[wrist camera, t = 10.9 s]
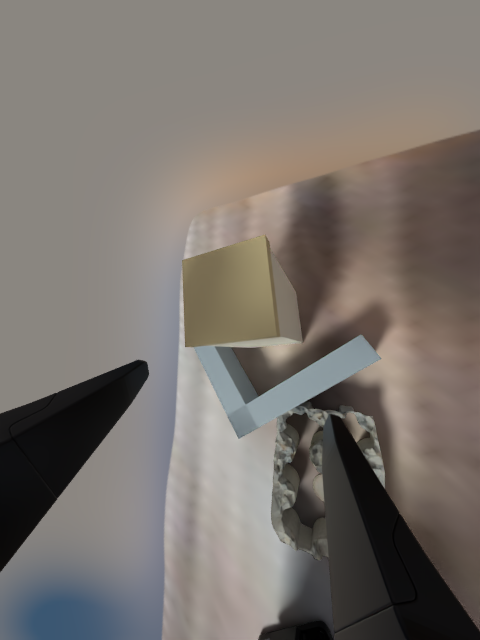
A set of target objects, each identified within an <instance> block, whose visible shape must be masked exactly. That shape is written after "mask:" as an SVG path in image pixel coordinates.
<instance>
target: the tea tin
mask: <svg viewBox="0 0 480 640" xmlns="http://www.w3.org/2000/svg"><path fill="white" fill-rule="evenodd" d="M182 268H183V297H184V326H185V347H200V346H221V347H244V348H257V347H267V346H277V345H286V344H296V343H303V339H302V332H301V324H300V317H299V310H298V302H297V295H296V291H295V289H294V288H293V286H292V284H291V283H290V281H289V279H288V278H287V276H286V274H285V273H284V271H283V269H282V267H281V266H280V264H279V262H278V261H277V259H276V257H275V256H274V254H273V252H272V251H271V249H270V244H269V241H268V239H267V237H266V235H262V236H259V237H256V238H253V239H249V240H246V241H243V242H240V243H236V244H233V245H230V246H227V247H224V248H220V249H217V250H214V251H211V252H208V253H204V254H201V255H198V256H195V257H192V258H188V259H185V260H182Z"/></svg>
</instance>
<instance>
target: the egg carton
mask: <svg viewBox="0 0 480 640" xmlns="http://www.w3.org/2000/svg"><path fill="white" fill-rule="evenodd" d="M305 412H307V415H308V417H309V419H311V420H314V421H316V422H317V423H318V424H319V425H320V426H321V427H324V424H325V422H326V419H327V417H328V415H329V414H335V415H338V416H340V417H341V418H346V414H347V413H348V412H350V413H354V414H355V416H356V418H357V421H358V423H359V424H360V426H361V427H362V428H363V429H365V430H366V431H368V432H370V438H364V439H362V440H360V441H359V442H358V443H357V445H358V446H359V448H360V449H361V451H362V453H363V454H364V456H365V458H366V459H367V461H368V462H369V464H370V466H371V467H372V469H373V470H374V472H375V474H376V475H377V477H378V479H379V480H380V482H381V483H382V485H383V487H384V488H385V471H384V466H383V460H382V455H381V450H380V446H379V442H378V437H377V432H376V427H375V423H374V419H373V416H365V415H363V414H362V413H360V412H354V410H353V408H352V407H350V406H342V405H341V406H339V410H338V412H337V411H334V410H325V411H323V410H320V409H313V407H312V404H311V402H309V401H305V402H303V403H302V404H300V405H298V406H296V407H295V408H293V409H291V410H289V411H287V412H286V413H284V414H282V415H280V416H278V417H277V436H276V448H275V455H274V475H273V492H272V507H271V520H272V525H273V528H274V530H275V532H276V534H277V535H278V537H279V539H280V540H281V542H283V543H286V544H288V545H289V546H291V547H292V548H293V549H294V550H295V551H297V550H298V549H299V550H303V551H305V552H308V553H310V554H311V555H312V556H313V557H314V559H316V560H319V561H320V560H322V557H323V556H326V557H328V543H327V530H326V518H319V519H317V520H316V521H315V523H314V526H313V528H309V527H307V526H305V525H303V524H301V522H300V519H299V516H298V515H297V513H296V511H295V510H294V509H293V508H291V507H293V505H294V503H295V501H296V497H297V493H298V487H299V483H300V480H299V476H298V473H297V472H296V470H295V469H294V468H293V467H292V466H290V465H289V464H287V463H288V462H289V463H291V462H292V461H293V459H294V456H295V453H296V450H297V447H298V444H299V435H298V432H297V431H296V430H295V428H293V427H292V426H291V425H289V424H287V423H286V419H287V418H288V417H290V416H291V415H292V414H293V413H296V414H299V415H302V414H304V413H305ZM322 448H323V430H322V431H319V432H317V433H316V434H314V436H313V438H312V441H311V446H310V448H309V454H310V461H311V462H312V464H313V465H314V467H315V468H316V470H317V471H318V472H320V473H322ZM313 489H314V492H315V494H316V495H317V497H318V498H319V499H320V500H321V501H323V502H324V491H323V477H322V474H318V475H317V476H316V477H315V479H314V481H313ZM328 558H329V557H328Z"/></svg>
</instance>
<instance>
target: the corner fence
mask: <svg viewBox="0 0 480 640" xmlns="http://www.w3.org/2000/svg"><path fill="white" fill-rule="evenodd" d="M194 349H195V351H196V353H197V355H198V357H199V359H200V361H201V363H202V365H203V367H204V369H205V371H206V373H207V375H208V377H209V380H210V382H211V384H212V386H213V388H214V390H215V392H216V394H217V396H218V398H219V400H220V402H221V404H222V406H223V408H224V410H225V412H226V414H227V416H228V418H229V420H230V422H231V424H232V426H233V428H234V430H235V432H236V434H237V436H238V439H239V438H241V437H243V436H245V435H246V434H248V433H250V432H252V431H254V430H255V429H257V428H259V427H261V426H262V425H264V424H266V423H268V422H270V421H271V420H273V419H275V418H277V417H278V416H280V415H282V414H284V413H286V412H287V411H289V410H291V409H293V408H295V407H296V406H298V405H300V404H302V403H303V402H305V401H307V400H309V399H311V398H312V397H314V396H316V395H318V394H319V393H321V392H323V391H325V390H327V389H328V388H330V387H332V386H334V385H335V384H337V383H339V382H341V381H343V380H344V379H346V378H348V377H350V376H351V375H353V374H355V373H357V372H359V371H360V370H362V369H364V368H366V367H367V366H369V365H371V364H373V363H375V362H376V361H378V360H380V359H381V358H380V356H379V355H378V354H377V353H376V351H375V350H374V349H373V348H372V347H371V345H370V344H369V343H368V342H367V341H366V339H365V338H364V337H363V336H362V335H359V336H357V337H356V338H354V339H352V340H351V341H349V342H347V343H346V344H344V345H343V346H341V347H339V348H338V349H336V350H334V351H333V352H331V353H329V354H328V355H326V356H324V357H323V358H321V359H320V360H318V361H316V362H315V363H313V364H311V365H310V366H308V367H306V368H305V369H303V370H301V371H300V372H298V373H297V374H295V375H293V376H292V377H290V378H288V379H287V380H285V381H283V382H282V383H280V384H278V385H277V386H275V387H274V388H272V389H270V390H269V391H267V392H265V393H264V394H262V395H260V396H258V394H257V393H256V391H255V389H254V387H253V386H252V384H251V382H250V380H249V378H248V377H247V375H246V373H245V371H244V369H243V368H242V366H241V364H240V362H239V361H238V359H237V357H236V355H235V353H234V352H233V350H232V348H231V347H221V346H200V347H194Z"/></svg>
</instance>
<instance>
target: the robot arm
mask: <svg viewBox="0 0 480 640" xmlns="http://www.w3.org/2000/svg"><path fill="white" fill-rule="evenodd" d="M148 375H149V370H148V365H147V362H146V361H143V360H136V361H134V362H132V363H129V364H126V365H124V366H121V367H119V368H117V369H114V370H112V371H109V372H107V373H104V374H102V375H99V376H97V377H94V378H92V379H89V380H87V381H84V382H82V383H79V384H77V385H74V386H72V387H69V388H67V389H65V390H62V391H59V392H58V393H54V394H52V395H50V396H47V397H45V398H42V399H39V400H37V401H34V402H32V403H29V404H26V405H23V406H21V407H18V408H15V409H12V410H9V411H6V412H4V413H1V414H0V572H1V571H2V569H3V568H4V567H5V566H6V564H7V563H8V562H9V561H10V559H11V558H12V557H13V555H14V554H15V553H16V552H17V550H18V549H19V548H20V546H21V545H22V544H23V542H24V541H25V540H26V539H27V537H28V536H29V535H30V534H31V532H32V531H33V530H34V528H35V527H36V526H37V524H38V523H39V522H40V521H41V519H42V518H43V517H44V516H45V514H46V513H47V511H48V510H49V509H50V508H51V507H52V505H53V504H54V503H55V501H56V500H57V498H58V497H59V496H60V495H61V493H62V492H63V491H64V490H65V488H66V487H67V486H68V484H69V483H70V482H71V481H72V479H73V478H74V477H75V475H76V474H77V473H78V472H79V470H80V469H81V467H82V466H83V465H84V464H85V463H86V461H87V460H88V459H89V457H90V456H91V455H92V453H93V452H94V451H95V450H96V448H97V447H98V446H99V445H100V443H101V442H102V441H103V439H104V438H105V437H106V435H107V434H108V433H109V432H110V430H111V429H112V428H113V426H114V425H115V424H116V423H117V421H118V420H119V419H120V418H121V416H122V415H123V414H124V412H125V411H126V410H127V409H128V407H129V406H130V405H131V403H132V402H133V400H134V399H135V397H136V395H137V394H138V392H139V391H140V389H141V388H142V386H143V384H144V383H145V381H146V380H147V378H148ZM322 477H323V491H324V504H325V517H326V530H327V543H328V557H329V570H330V583H331V596H332V609H333V623H334V632H335V634H334V637H335V640H480V631H479V629H478V628H477V627H476V625H475V624H474V622H473V621H472V620H471V618H470V617H469V615H468V614H467V612H466V611H465V610H464V608H463V607H462V605H461V604H460V602H459V601H458V600H457V598H456V597H455V595H454V594H453V593H452V591H451V590H450V588H449V587H448V585H447V584H446V583H445V581H444V580H443V578H442V577H441V575H440V574H439V572H438V571H437V570H436V568H435V567H434V565H433V564H432V562H431V561H430V559H429V558H428V556H427V555H426V553H425V552H424V550H423V549H422V547H421V546H420V544H419V543H418V541H417V540H416V538H415V536H414V535H413V533H412V532H411V530H410V529H409V527H408V525H407V524H406V522H405V521H404V519H403V517H402V516H401V515H400V514H399V511H398V509H397V508H396V506H395V504H394V503H393V501H392V500H391V498H390V496H389V495H388V493H387V492H386V490H385V488H384V487H383V485H382V483H381V482H380V480H379V479H378V477H377V475H376V474H375V472H374V470H373V469H372V467H371V466H370V464H369V462H368V461H367V459H366V458H365V456H364V454H363V453H362V451H361V449H360V448H359V446H358V445H357V443H356V441H355V440H354V438H353V436H352V435H351V433H350V432H349V430H348V428H347V427H346V425H345V423H344V422H343V420H342V419H341V417H340V416H338V415H335V414H329V415H328V417H327V419H326V422H325V424H324V427H323V448H322ZM320 631H322V632H323V633H322V632H320ZM258 640H333V638H332V635H331V633H330V631H329V629H328V627H327V626H326V624H325V623H324V622H322V621H314V622H310V623H306V624H302V625H298V626H294V627H290V628H286V629H282V630H278V631H274V632H270V633H266V634H262V635H260V636H259V639H258Z"/></svg>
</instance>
